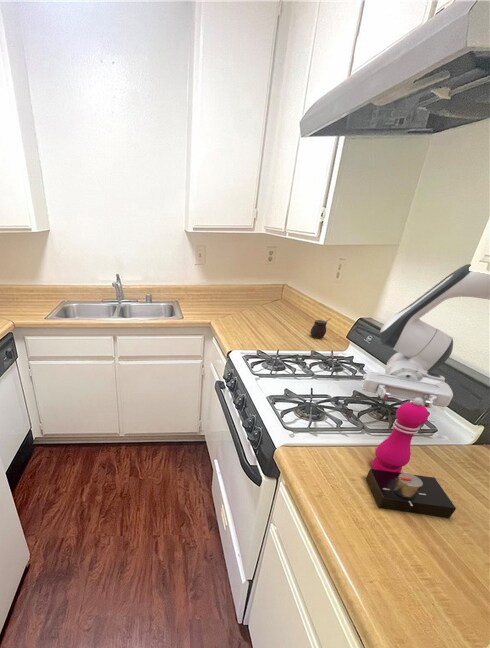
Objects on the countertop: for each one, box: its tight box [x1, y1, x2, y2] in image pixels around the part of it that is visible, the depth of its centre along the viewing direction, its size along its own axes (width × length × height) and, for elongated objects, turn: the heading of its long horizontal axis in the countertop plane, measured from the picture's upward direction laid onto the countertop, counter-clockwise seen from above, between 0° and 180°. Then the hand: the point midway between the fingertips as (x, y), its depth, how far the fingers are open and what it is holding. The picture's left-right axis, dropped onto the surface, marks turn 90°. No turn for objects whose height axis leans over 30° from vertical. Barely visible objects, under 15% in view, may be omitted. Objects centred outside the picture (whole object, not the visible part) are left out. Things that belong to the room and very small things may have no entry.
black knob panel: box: [365, 468, 457, 519], centre depth 77 cm, size 14×11×3 cm
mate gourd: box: [310, 317, 331, 339], centre depth 171 cm, size 7×8×10 cm
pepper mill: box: [371, 398, 430, 473], centre depth 81 cm, size 7×7×20 cm
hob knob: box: [393, 472, 423, 499], centre depth 74 cm, size 4×4×4 cm
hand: (406, 400), depth 87 cm, fingers open, 8 cm apart
